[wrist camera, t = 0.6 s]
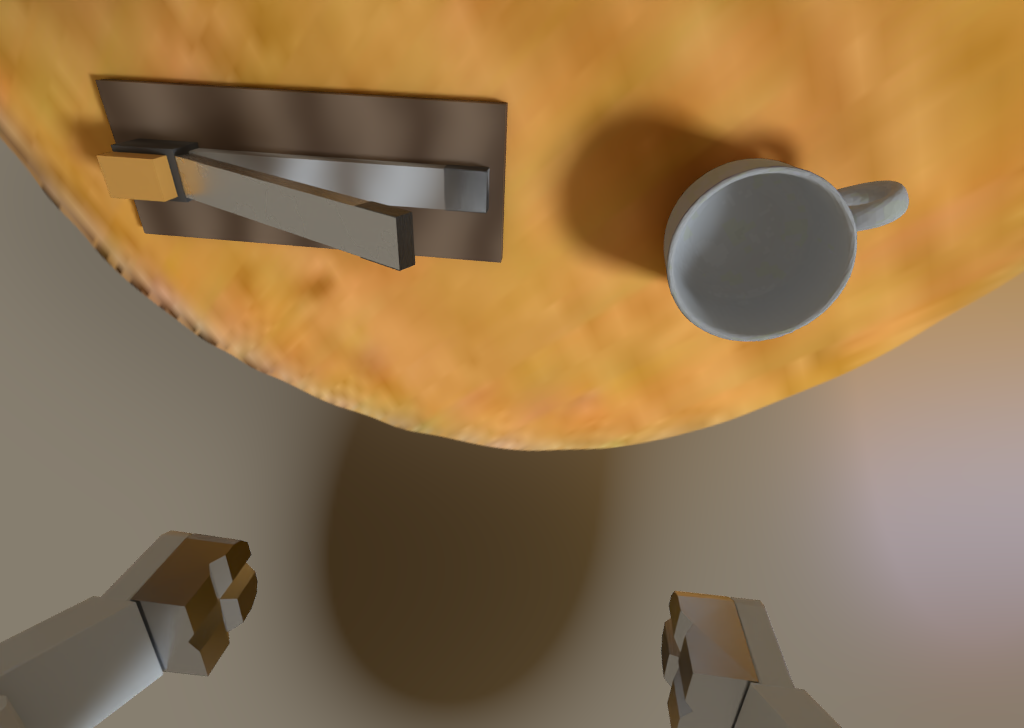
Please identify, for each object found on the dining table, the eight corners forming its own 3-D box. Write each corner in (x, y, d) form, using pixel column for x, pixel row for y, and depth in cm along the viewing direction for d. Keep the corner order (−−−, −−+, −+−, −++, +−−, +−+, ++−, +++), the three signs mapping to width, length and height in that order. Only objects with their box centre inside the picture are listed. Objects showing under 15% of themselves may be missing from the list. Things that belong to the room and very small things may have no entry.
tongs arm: (202, 194, 40) (186, 198, 39) (191, 152, 38) (174, 155, 37) (415, 264, 30) (399, 270, 29) (412, 211, 28) (395, 216, 27)
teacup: (664, 304, 43) (679, 356, 36) (643, 166, 38) (656, 196, 31) (859, 266, 40) (915, 315, 33) (865, 109, 34) (933, 128, 28)
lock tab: (125, 192, 39) (110, 197, 38) (111, 151, 38) (96, 155, 36) (177, 196, 39) (165, 201, 38) (166, 155, 37) (152, 159, 36)
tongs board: (153, 229, 45) (119, 244, 41) (106, 79, 39) (62, 83, 36) (502, 258, 42) (495, 276, 39) (507, 102, 37) (499, 109, 33)
